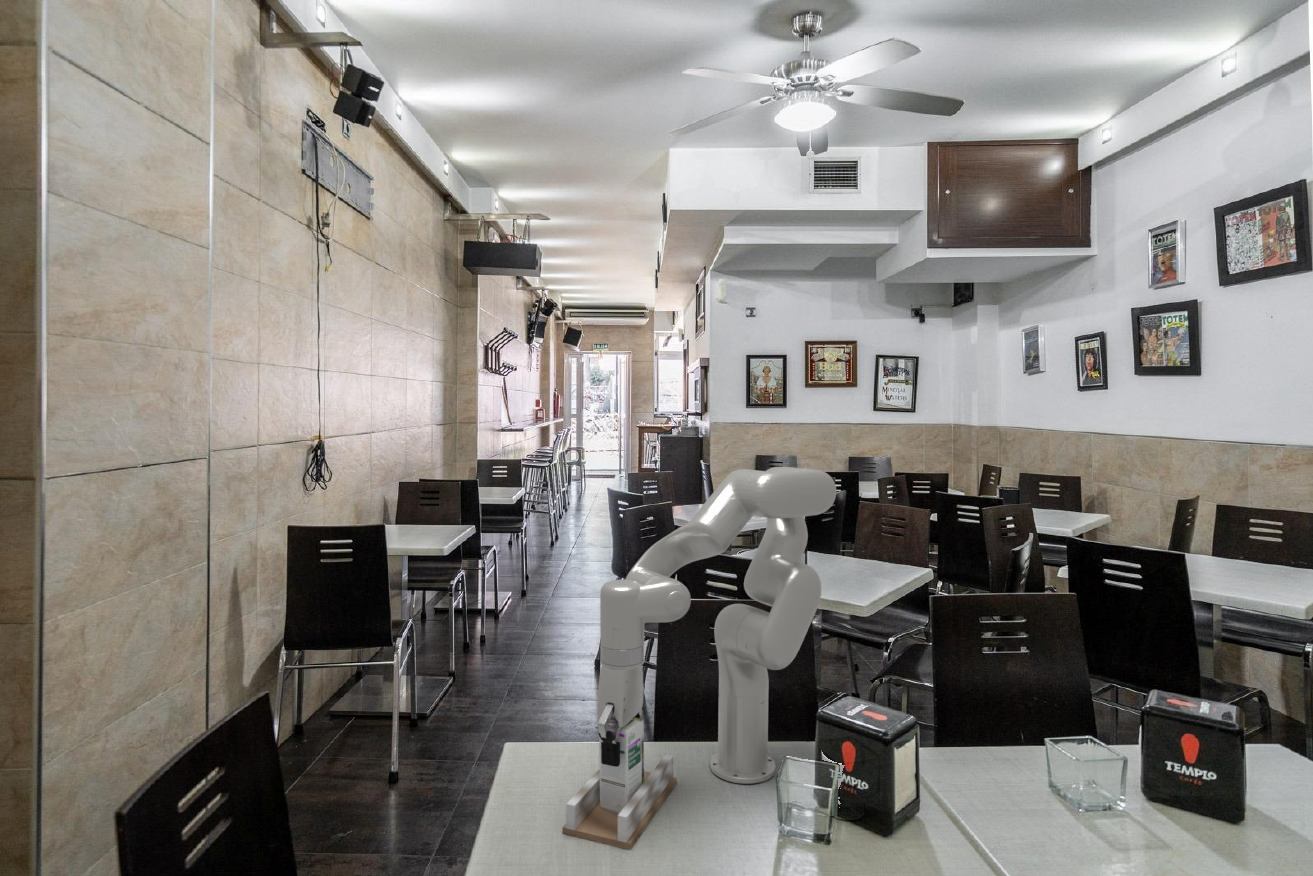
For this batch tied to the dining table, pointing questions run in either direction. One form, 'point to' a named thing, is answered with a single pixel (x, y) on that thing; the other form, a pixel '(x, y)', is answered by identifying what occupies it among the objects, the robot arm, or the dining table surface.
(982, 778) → the dining table surface
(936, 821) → the dining table surface
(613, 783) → the syrup box
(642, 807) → the track
